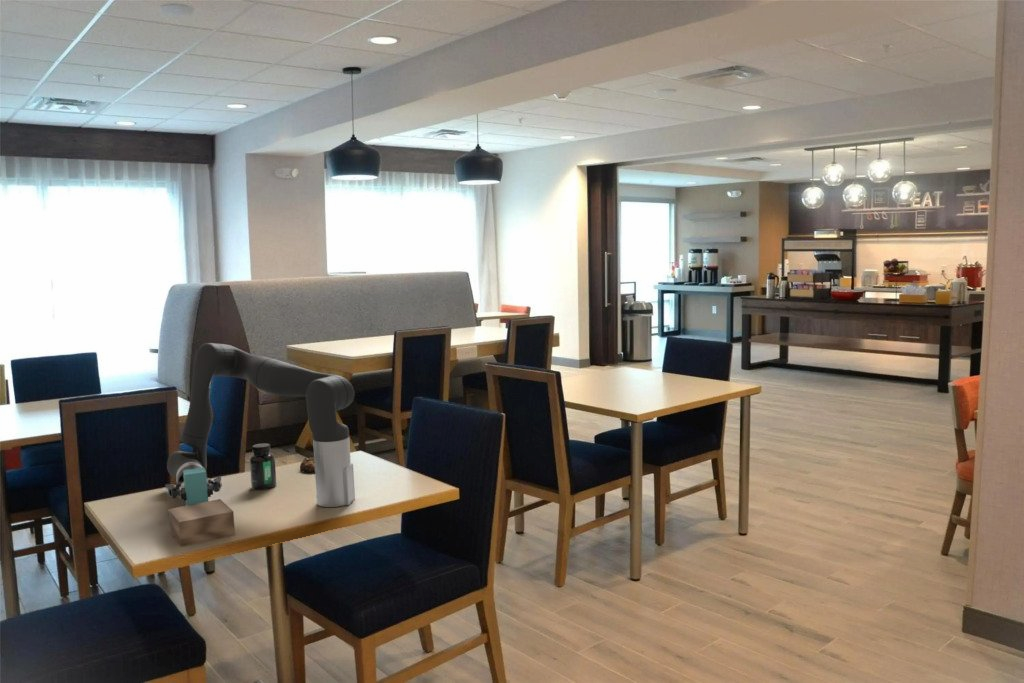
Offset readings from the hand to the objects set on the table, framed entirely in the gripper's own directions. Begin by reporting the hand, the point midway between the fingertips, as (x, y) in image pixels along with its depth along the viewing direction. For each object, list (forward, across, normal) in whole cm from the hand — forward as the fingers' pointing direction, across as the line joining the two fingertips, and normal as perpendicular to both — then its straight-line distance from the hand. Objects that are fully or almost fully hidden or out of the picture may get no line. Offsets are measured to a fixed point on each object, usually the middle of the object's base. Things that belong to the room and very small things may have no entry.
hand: (197, 494), depth 200 cm
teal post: (-3, 0, +6) cm, 7 cm away
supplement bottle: (-22, +19, +7) cm, 30 cm away
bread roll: (-33, +37, +7) cm, 50 cm away
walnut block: (+11, 0, +7) cm, 13 cm away
